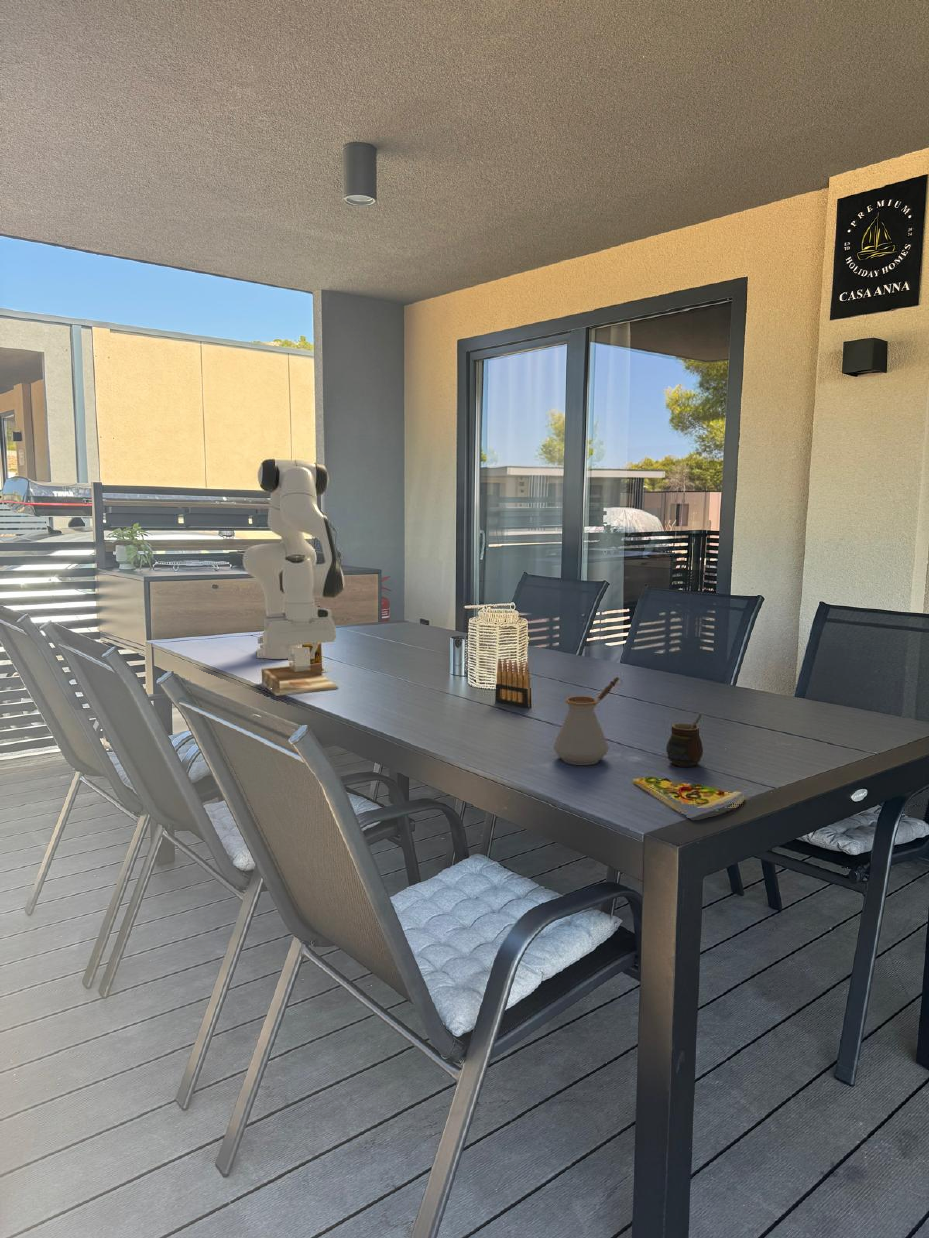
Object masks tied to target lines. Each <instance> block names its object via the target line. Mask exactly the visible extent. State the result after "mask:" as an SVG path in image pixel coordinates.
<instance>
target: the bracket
mask: <svg viewBox="0 0 929 1238" xmlns="http://www.w3.org/2000/svg"><path fill="white" fill-rule="evenodd" d="M292 650H293V654H294V659H295V660H294V661H289V662H288V666H289V668H291V669H292V670H293V671H295V672H297V671H307V670H311V669H310V648H309V647H301V648H292Z"/></svg>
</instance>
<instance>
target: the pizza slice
mask: <svg viewBox="0 0 929 1238" xmlns="http://www.w3.org/2000/svg"><path fill="white" fill-rule="evenodd" d="M632 781H633V783H634V784H635V785H636V786H638V787H640V788H641V789H642V790H644V791H645V792H647V793H649V795H651V796H653V797H655V798H656V799H658V800H659V801H661V802H662V803H664V804H665V805H667V806H669V807H670V808H672V809H673V810H674V811H676V812H678V811H688V810H685V809H683V808H681V807H680V806H678V805H676V804H675V803H673V802H672V801H670V800H669V799H668V798H667V797H666V796H665V795H663V794H661V793H659V792H658V791H656V790H660V791H661V792H662V793H664V794H668V795H670V796H671V797H672V798H673V799H675V800H676V801H681V803H682V804H689V805H690V804H691V805H692V804H694V805H695V804H696V805H697V804H698V805H699V804H702V806H699V807H697V808H709V807H712V806H714V805H716V804H722V803H724V802H726V801H730V800H732V799H733V798H734V797H737V796H738V795H739V794H741V793H742V792H740V791H733V793H728V792H729V791H728V792H724V791H725V790H724V791H722V790H723V789H722V788H720V787H713V786H706V785H704V784H701V783H694V784H693V783H692V784H691V783H684V782H672V781H671V780H670V779H669V778H662V779H661V778H657V777H655V776H650V775H648V776H645V777H641V778H633V779H632ZM650 787H652V788H654V789H652V788H650ZM728 794H729V795H728ZM721 797H722V798H721ZM744 800H745V795H744V794H743V796H742V797H741V798H740V799H739V800H738V801H737V802H735V803H734V805H733V804H732V807H731V806H730V807H728V808H735V809H736V808H738V807H739V806H740V805H741V804H743V802H744ZM703 804H705V805H703ZM735 804H736V805H735ZM737 804H738V805H737ZM739 804H740V805H739ZM696 805H695V806H696ZM733 806H734V807H733ZM725 808H727V807H725ZM716 811H718V810H716ZM681 813H682V812H681ZM681 813H680V814H681Z"/></svg>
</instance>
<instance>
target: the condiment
mask: <svg viewBox="0 0 929 1238" xmlns="http://www.w3.org/2000/svg"><path fill="white" fill-rule="evenodd" d="M302 647H309V648H310V652H311V650H312V648H313V646H312V644H302ZM322 654H323V652H322V643H318V648H317V650H316V652H315V659H310V664H316V663H321V664H322V665H323V655H322ZM325 672H327V673H328V671H327V670H326V669H324V668H323V667H322V673H325Z"/></svg>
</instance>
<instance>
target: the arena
mask: <svg viewBox="0 0 929 1238" xmlns="http://www.w3.org/2000/svg"><path fill="white" fill-rule="evenodd" d="M322 668H323V663H322V664H321V663H316V664H310V669H311V670H307V671H297V672H295V671H293V670H292V669H291V668H289V665H288V666H278V667H277V666H276V667H268V668H261V669H260V670H261V683H262V684H263V685H264V686H265V688H267V689H268V690H269V691H270V692H271V693H272V694H273V695H274V696H275V697H277V696H278V697H279V696H287V695H294V694H295V695H296V694H305V693H313V692H322V691H323V692H324V691H331V690H332V691H333V690H338V689H339V686H338V685H337V684H335V683H334V682H333V681H332V680H330V679H328V678H327V677H326V676H324V675H323V672H322ZM271 688H272V689H271Z"/></svg>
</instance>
